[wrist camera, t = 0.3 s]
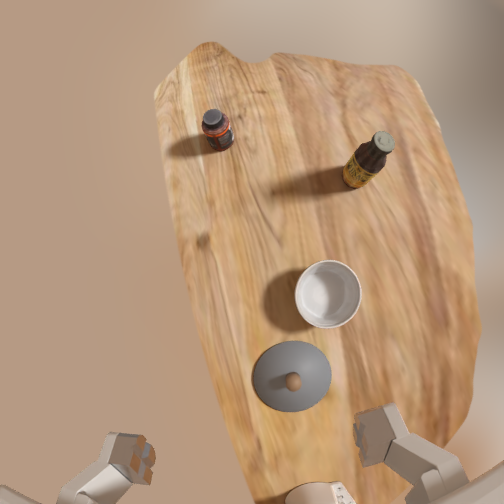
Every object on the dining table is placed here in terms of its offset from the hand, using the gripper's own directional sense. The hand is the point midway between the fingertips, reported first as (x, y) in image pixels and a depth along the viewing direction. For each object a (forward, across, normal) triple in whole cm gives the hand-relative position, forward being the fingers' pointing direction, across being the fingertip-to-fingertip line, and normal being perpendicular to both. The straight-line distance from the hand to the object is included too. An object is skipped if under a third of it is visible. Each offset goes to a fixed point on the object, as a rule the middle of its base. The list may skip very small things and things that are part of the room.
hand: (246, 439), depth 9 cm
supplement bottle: (+65, -4, +11) cm, 66 cm away
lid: (+40, +3, -38) cm, 55 cm away
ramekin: (+47, +13, -23) cm, 54 cm away
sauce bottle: (+58, +25, -1) cm, 63 cm away
